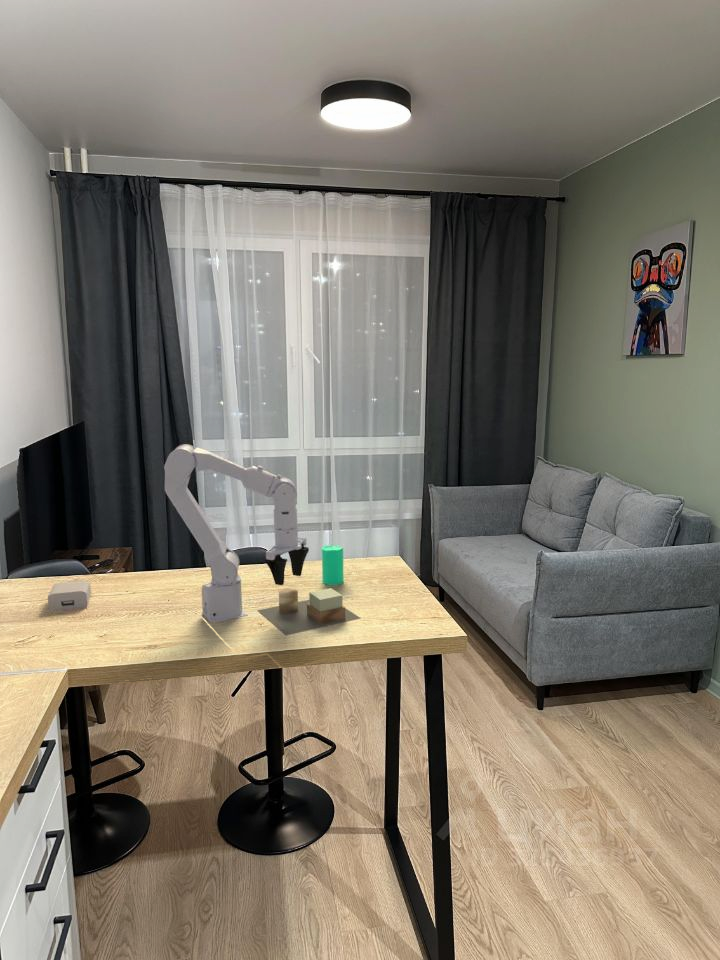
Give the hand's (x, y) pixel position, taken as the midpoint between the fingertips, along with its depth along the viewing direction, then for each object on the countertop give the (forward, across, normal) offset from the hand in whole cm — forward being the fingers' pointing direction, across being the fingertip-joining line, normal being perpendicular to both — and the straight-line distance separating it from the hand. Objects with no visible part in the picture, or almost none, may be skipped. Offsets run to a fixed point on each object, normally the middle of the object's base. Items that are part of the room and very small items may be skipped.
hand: (288, 579), depth 167 cm
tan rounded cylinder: (+8, 0, 0) cm, 8 cm away
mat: (+9, 0, -6) cm, 10 cm away
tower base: (+8, 0, -11) cm, 13 cm away
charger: (+8, -20, +57) cm, 61 cm away
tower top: (+5, 0, -11) cm, 12 cm away
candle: (+9, +24, +2) cm, 26 cm away
